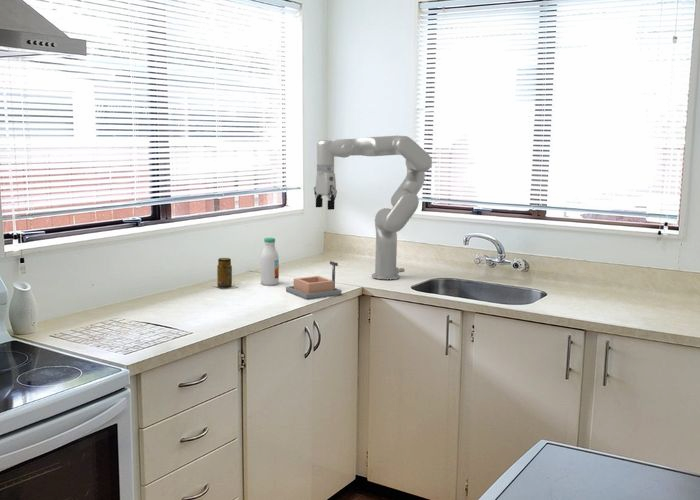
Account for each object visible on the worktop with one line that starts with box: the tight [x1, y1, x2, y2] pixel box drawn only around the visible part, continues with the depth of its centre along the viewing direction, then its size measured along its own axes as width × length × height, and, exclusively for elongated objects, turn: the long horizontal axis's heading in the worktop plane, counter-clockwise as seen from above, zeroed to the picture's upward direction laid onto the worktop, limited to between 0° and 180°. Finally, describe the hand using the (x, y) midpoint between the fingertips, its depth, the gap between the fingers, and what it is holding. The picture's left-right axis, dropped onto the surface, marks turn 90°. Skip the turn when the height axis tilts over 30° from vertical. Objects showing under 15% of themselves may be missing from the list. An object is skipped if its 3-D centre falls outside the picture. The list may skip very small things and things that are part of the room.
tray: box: [285, 285, 342, 300], centre depth 313 cm, size 17×17×2 cm
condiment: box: [212, 257, 237, 290], centre depth 322 cm, size 7×8×12 cm
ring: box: [293, 275, 334, 294], centre depth 314 cm, size 12×12×5 cm
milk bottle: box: [260, 237, 280, 286], centre depth 329 cm, size 8×8×20 cm
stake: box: [329, 260, 339, 288], centre depth 323 cm, size 1×5×11 cm, turn 34°
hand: (324, 208), depth 333 cm, fingers open, 9 cm apart
